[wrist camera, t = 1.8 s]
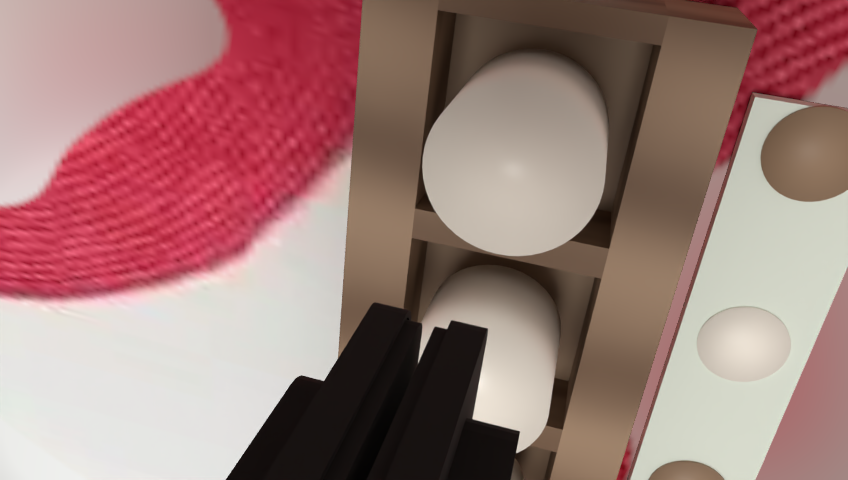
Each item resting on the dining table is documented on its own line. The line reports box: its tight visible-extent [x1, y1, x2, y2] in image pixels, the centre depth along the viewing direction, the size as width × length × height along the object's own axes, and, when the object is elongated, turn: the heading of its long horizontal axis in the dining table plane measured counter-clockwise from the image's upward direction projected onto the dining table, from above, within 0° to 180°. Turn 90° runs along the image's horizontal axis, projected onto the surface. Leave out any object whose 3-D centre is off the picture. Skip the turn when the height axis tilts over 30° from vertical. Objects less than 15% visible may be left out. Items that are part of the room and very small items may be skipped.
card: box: [627, 92, 848, 480], centre depth 27 cm, size 18×5×1 cm, turn 173°
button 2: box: [422, 49, 609, 256], centre depth 21 cm, size 5×5×4 cm
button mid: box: [418, 265, 561, 453], centre depth 24 cm, size 5×5×4 cm
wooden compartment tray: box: [338, 0, 757, 480], centre depth 27 cm, size 23×11×4 cm, turn 173°
